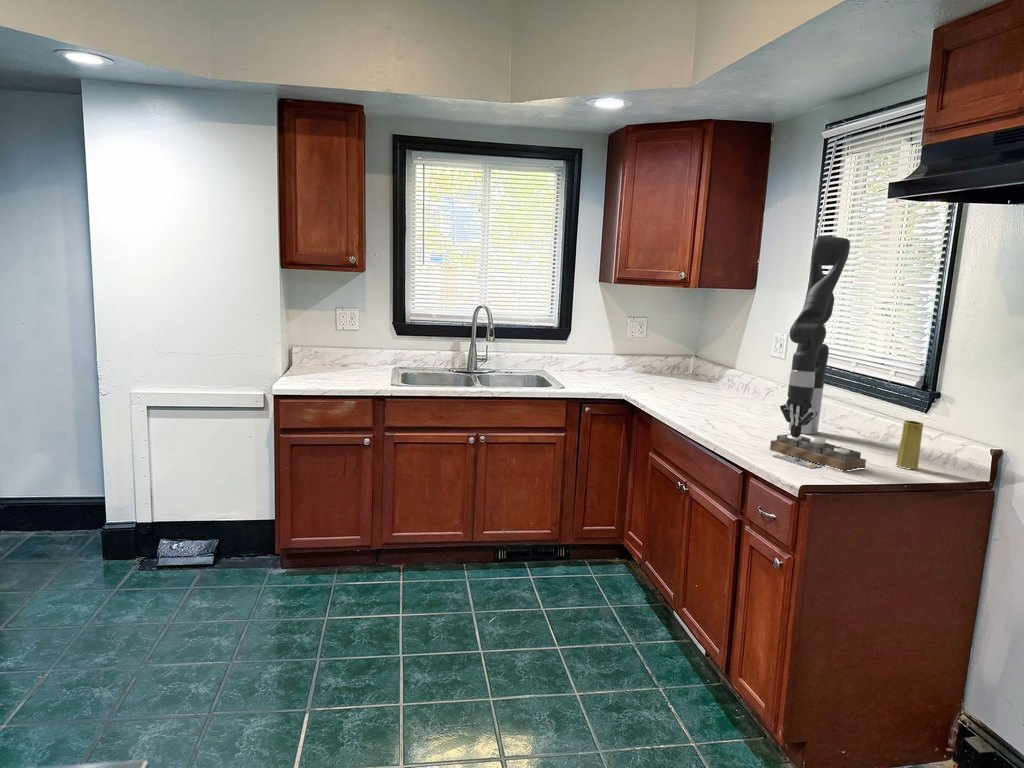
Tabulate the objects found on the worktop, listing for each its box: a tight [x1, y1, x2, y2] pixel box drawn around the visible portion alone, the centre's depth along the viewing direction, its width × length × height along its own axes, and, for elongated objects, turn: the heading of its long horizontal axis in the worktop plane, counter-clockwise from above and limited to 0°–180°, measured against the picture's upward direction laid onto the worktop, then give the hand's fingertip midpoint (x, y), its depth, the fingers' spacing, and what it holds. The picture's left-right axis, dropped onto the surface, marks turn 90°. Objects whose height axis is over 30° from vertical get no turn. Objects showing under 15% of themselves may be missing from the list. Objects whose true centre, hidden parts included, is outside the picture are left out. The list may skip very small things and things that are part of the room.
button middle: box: [809, 435, 827, 446], centre depth 217 cm, size 4×4×2 cm
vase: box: [895, 420, 924, 470], centre depth 213 cm, size 6×6×14 cm
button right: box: [834, 447, 851, 453], centre depth 210 cm, size 4×4×2 cm
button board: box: [769, 433, 867, 471], centre depth 218 cm, size 27×10×5 cm, turn 30°
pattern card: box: [772, 453, 822, 468], centre depth 214 cm, size 14×5×1 cm, turn 30°
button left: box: [787, 435, 802, 440], centre depth 225 cm, size 4×4×2 cm
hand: (795, 436), depth 225 cm, fingers closed
